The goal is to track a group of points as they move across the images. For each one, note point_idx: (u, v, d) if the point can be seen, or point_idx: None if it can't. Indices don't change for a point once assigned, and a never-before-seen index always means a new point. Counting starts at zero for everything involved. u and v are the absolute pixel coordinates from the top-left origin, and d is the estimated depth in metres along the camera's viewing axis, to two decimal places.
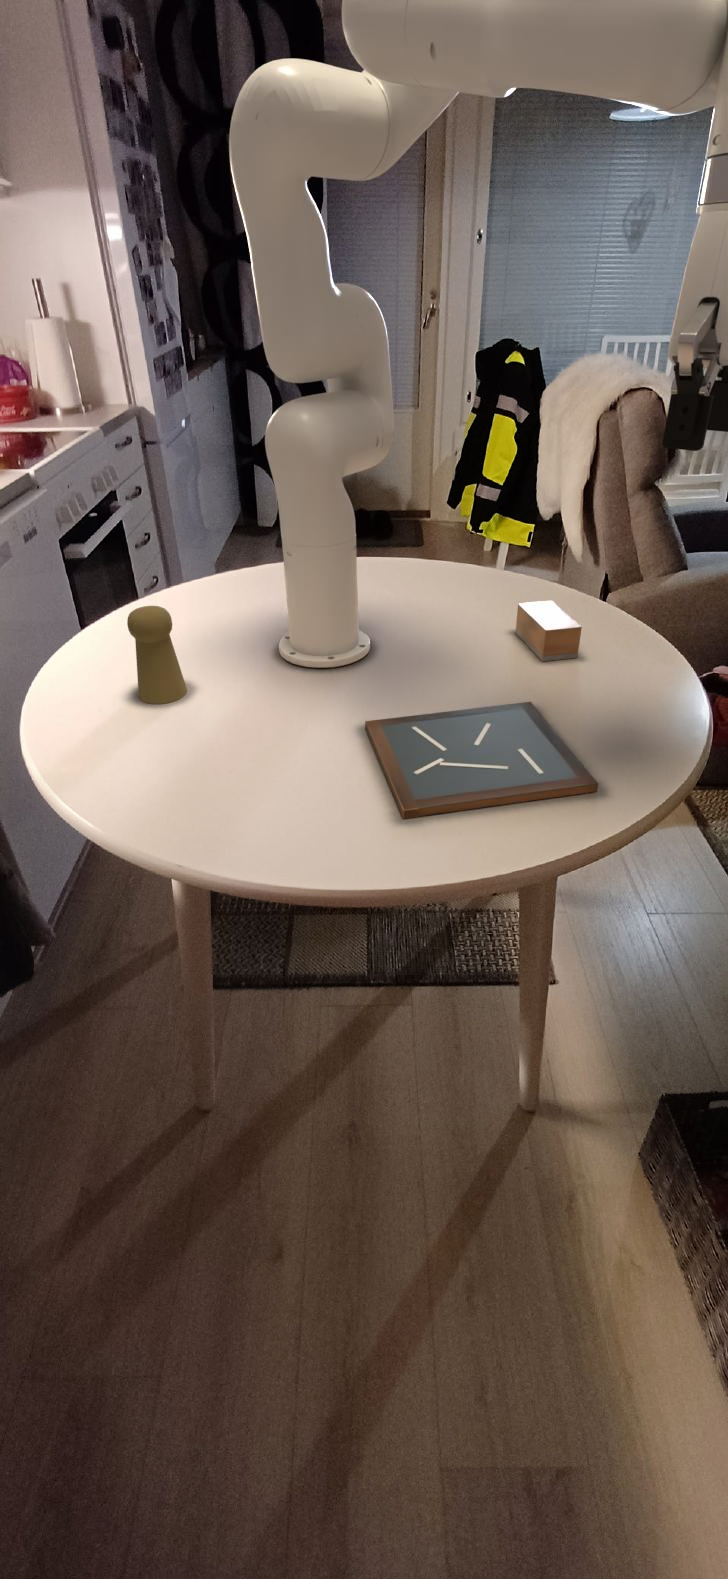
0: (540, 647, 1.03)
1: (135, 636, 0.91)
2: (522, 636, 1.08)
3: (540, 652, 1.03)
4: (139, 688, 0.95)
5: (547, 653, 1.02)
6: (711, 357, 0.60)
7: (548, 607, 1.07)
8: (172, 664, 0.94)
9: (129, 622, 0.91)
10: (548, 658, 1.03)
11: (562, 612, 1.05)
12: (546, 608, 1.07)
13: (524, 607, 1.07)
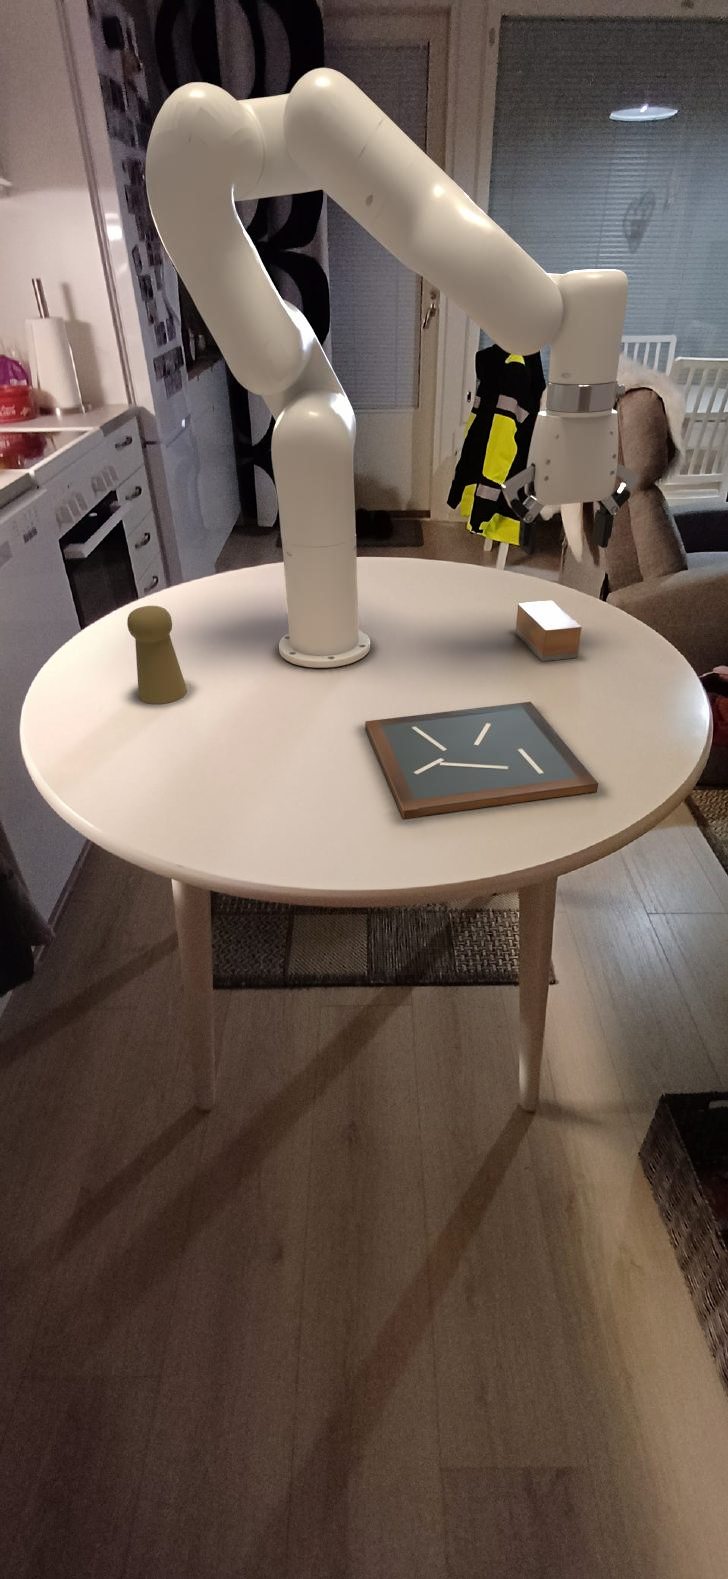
0: (540, 647, 1.03)
1: (135, 636, 0.91)
2: (522, 636, 1.08)
3: (540, 652, 1.03)
4: (139, 688, 0.95)
5: (547, 653, 1.02)
6: (536, 499, 0.93)
7: (548, 607, 1.07)
8: (172, 664, 0.94)
9: (129, 622, 0.91)
10: (548, 658, 1.03)
11: (562, 612, 1.05)
12: (546, 608, 1.07)
13: (524, 607, 1.07)
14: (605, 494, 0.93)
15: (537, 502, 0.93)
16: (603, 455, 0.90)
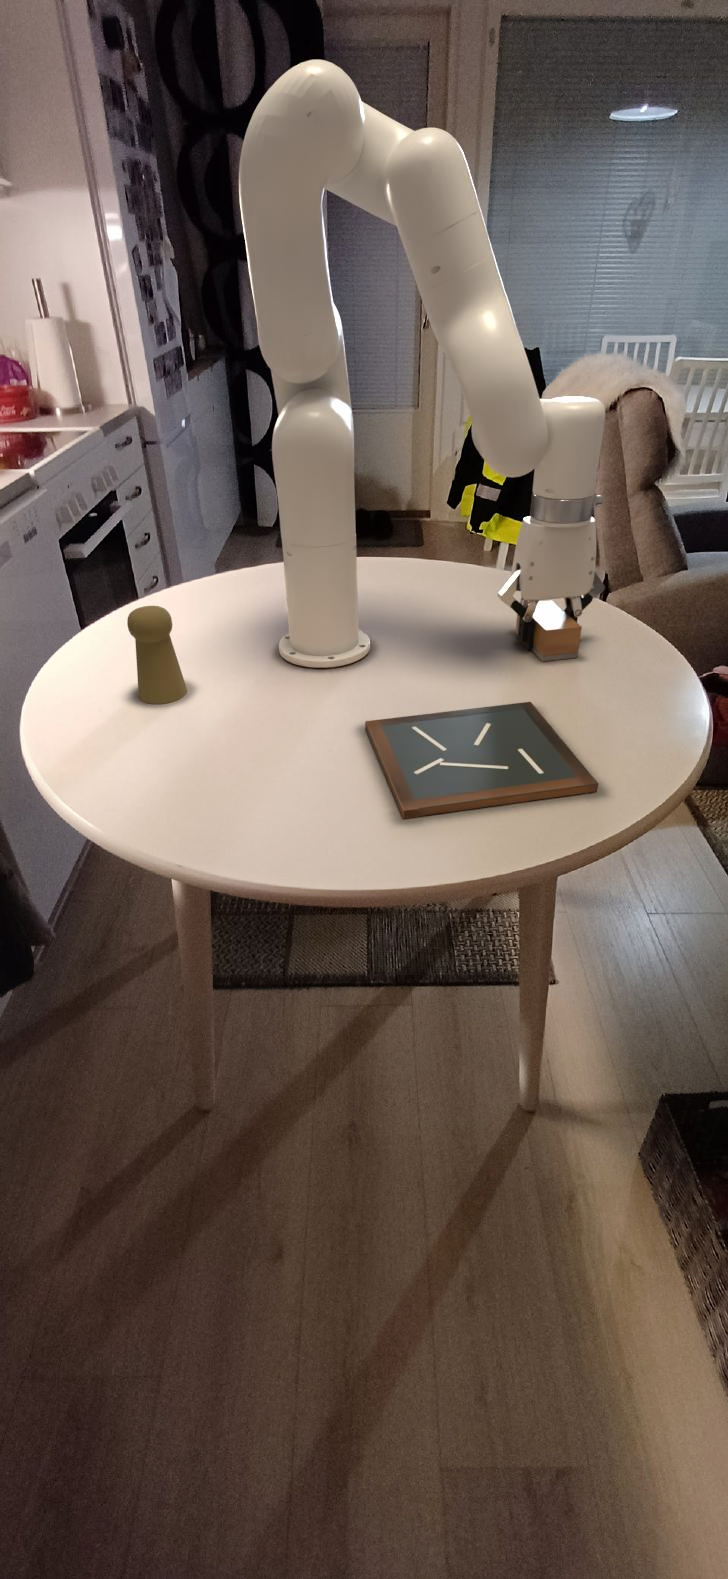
0: (540, 647, 1.03)
1: (135, 636, 0.91)
2: None
3: (540, 652, 1.03)
4: (139, 688, 0.95)
5: (547, 653, 1.02)
6: (528, 600, 1.02)
7: (548, 607, 1.07)
8: (172, 664, 0.94)
9: (129, 622, 0.91)
10: (548, 658, 1.03)
11: (562, 612, 1.05)
12: (546, 608, 1.07)
13: None
14: (584, 591, 1.02)
15: (530, 603, 1.02)
16: (582, 558, 0.99)
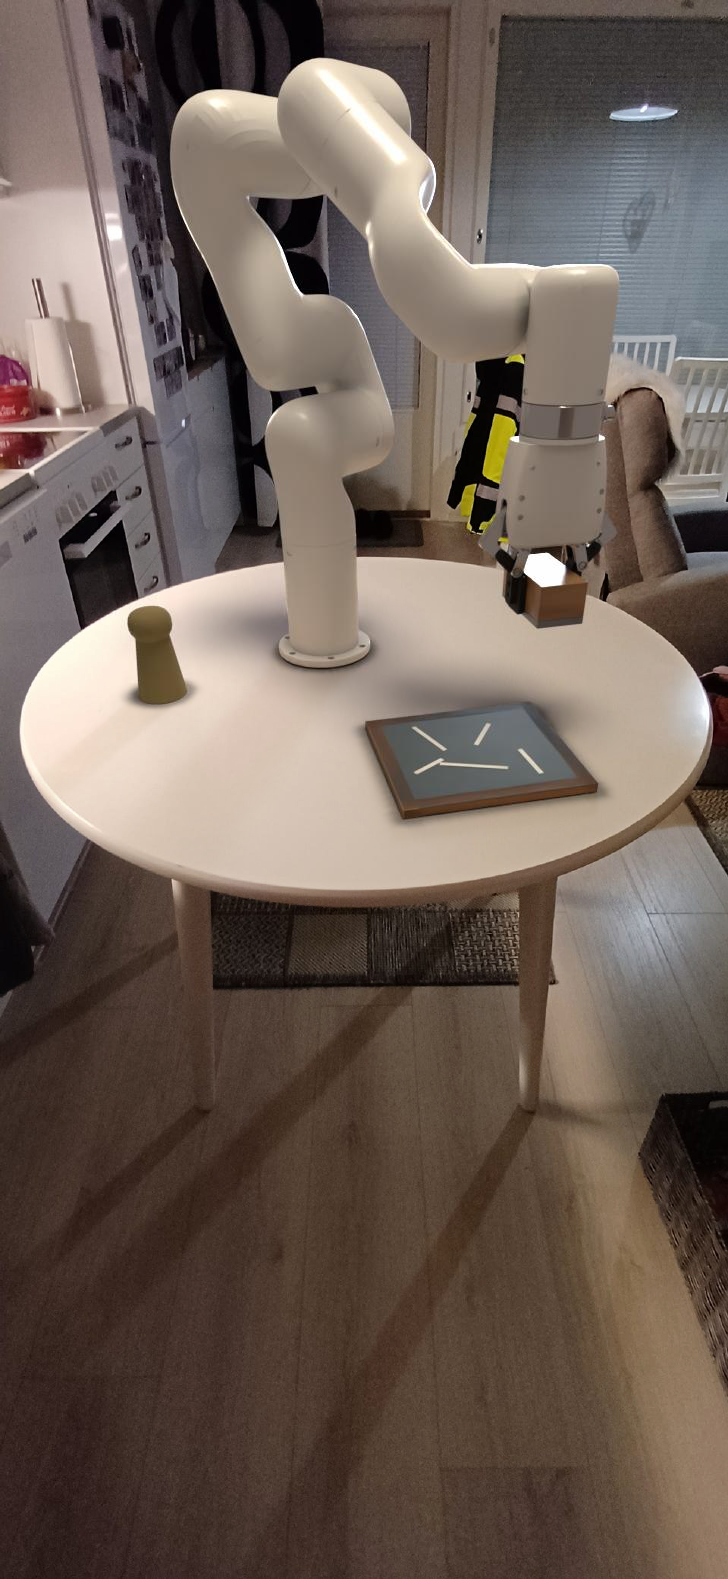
0: (534, 610, 0.79)
1: (135, 636, 0.91)
2: None
3: (534, 617, 0.79)
4: (139, 688, 0.95)
5: (543, 618, 0.78)
6: (517, 549, 0.78)
7: (543, 560, 0.83)
8: (172, 664, 0.94)
9: (129, 622, 0.91)
10: (544, 624, 0.79)
11: (562, 566, 0.81)
12: (541, 562, 0.83)
13: None
14: (591, 536, 0.78)
15: (520, 553, 0.78)
16: (588, 490, 0.75)
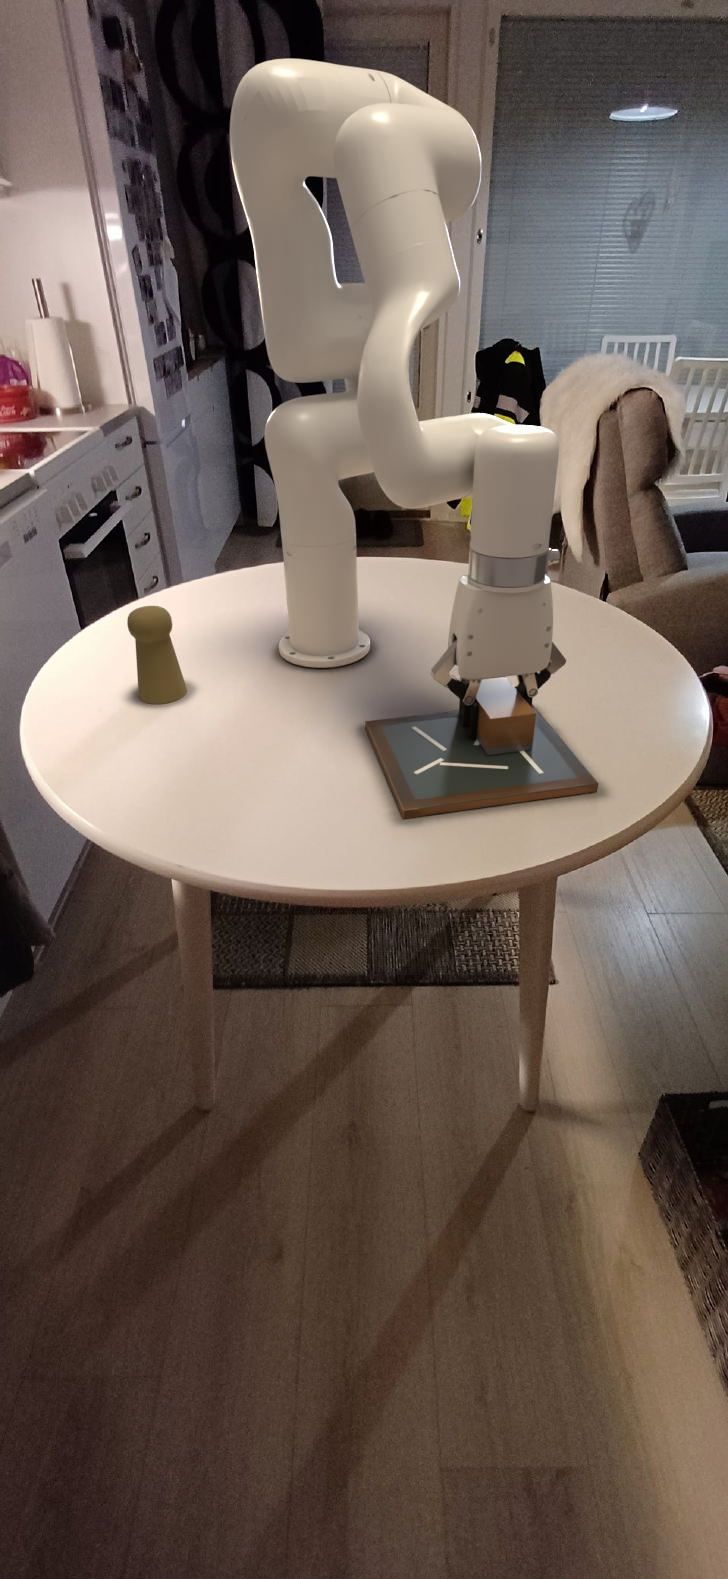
0: (485, 737, 0.81)
1: (135, 636, 0.91)
2: None
3: (485, 743, 0.82)
4: (139, 688, 0.95)
5: (493, 745, 0.81)
6: None
7: (496, 683, 0.86)
8: (172, 664, 0.94)
9: (129, 622, 0.91)
10: (495, 751, 0.81)
11: (514, 691, 0.84)
12: (495, 684, 0.85)
13: None
14: (539, 667, 0.80)
15: (471, 683, 0.80)
16: (535, 628, 0.77)
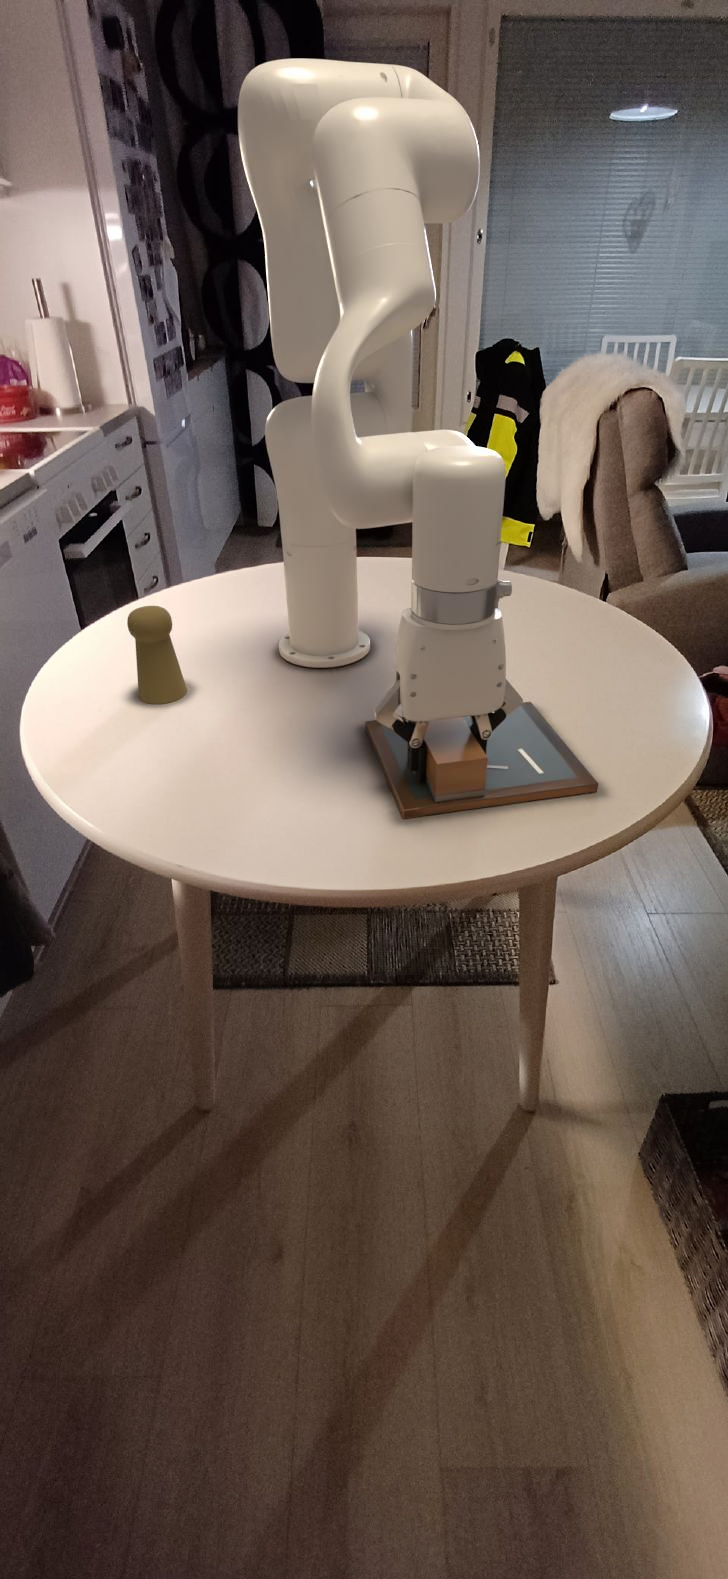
0: (432, 782, 0.75)
1: (135, 636, 0.91)
2: None
3: (433, 789, 0.75)
4: (139, 688, 0.95)
5: (441, 792, 0.74)
6: None
7: (449, 721, 0.79)
8: (172, 664, 0.94)
9: (129, 622, 0.91)
10: (443, 798, 0.75)
11: (466, 730, 0.77)
12: (447, 723, 0.79)
13: None
14: (492, 708, 0.73)
15: (417, 725, 0.74)
16: (485, 666, 0.71)
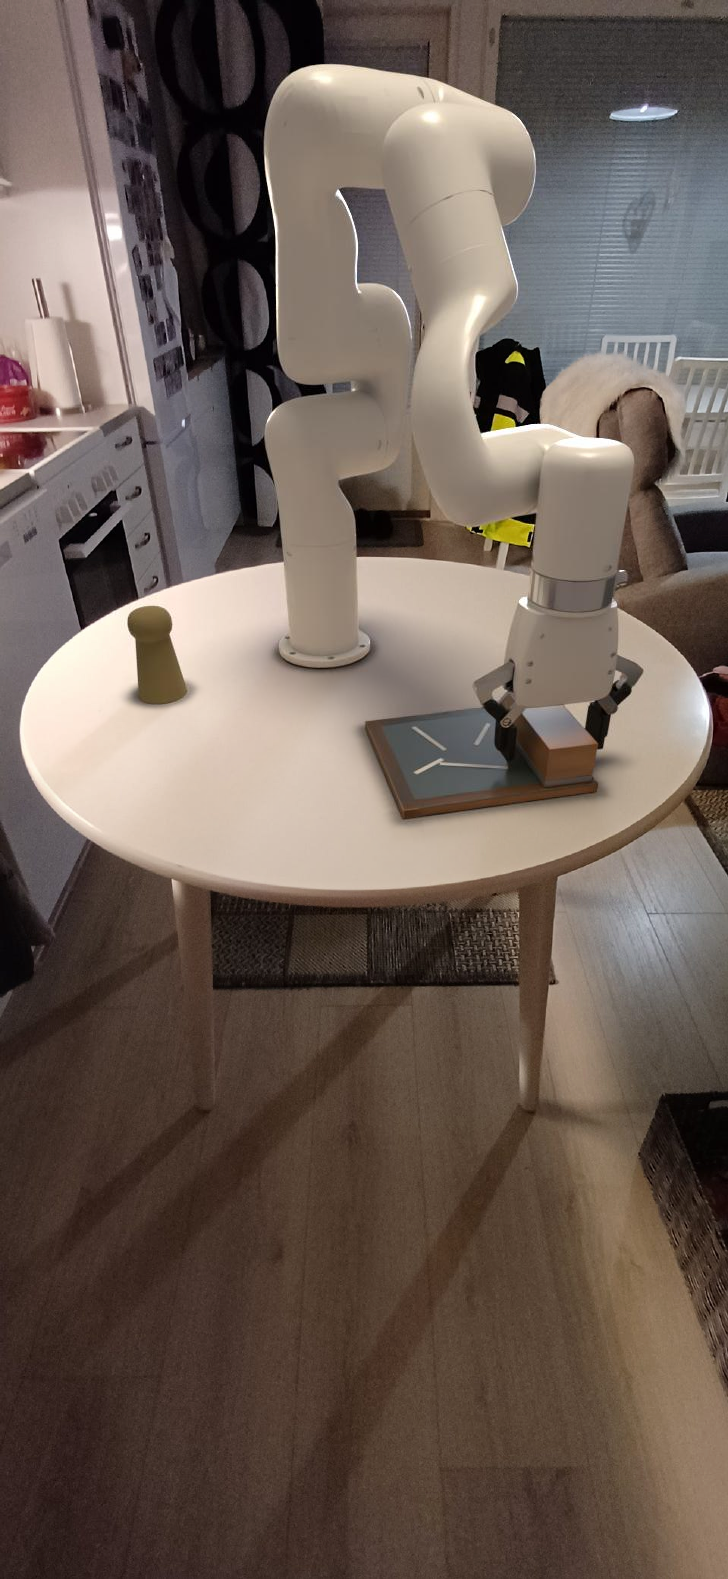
0: (542, 768, 0.76)
1: (135, 636, 0.91)
2: (518, 745, 0.82)
3: (541, 774, 0.76)
4: (139, 688, 0.95)
5: (551, 777, 0.76)
6: None
7: (552, 708, 0.81)
8: (172, 664, 0.94)
9: (129, 622, 0.91)
10: (552, 783, 0.76)
11: (571, 718, 0.79)
12: (550, 710, 0.80)
13: None
14: (601, 695, 0.75)
15: (517, 705, 0.75)
16: (599, 654, 0.72)
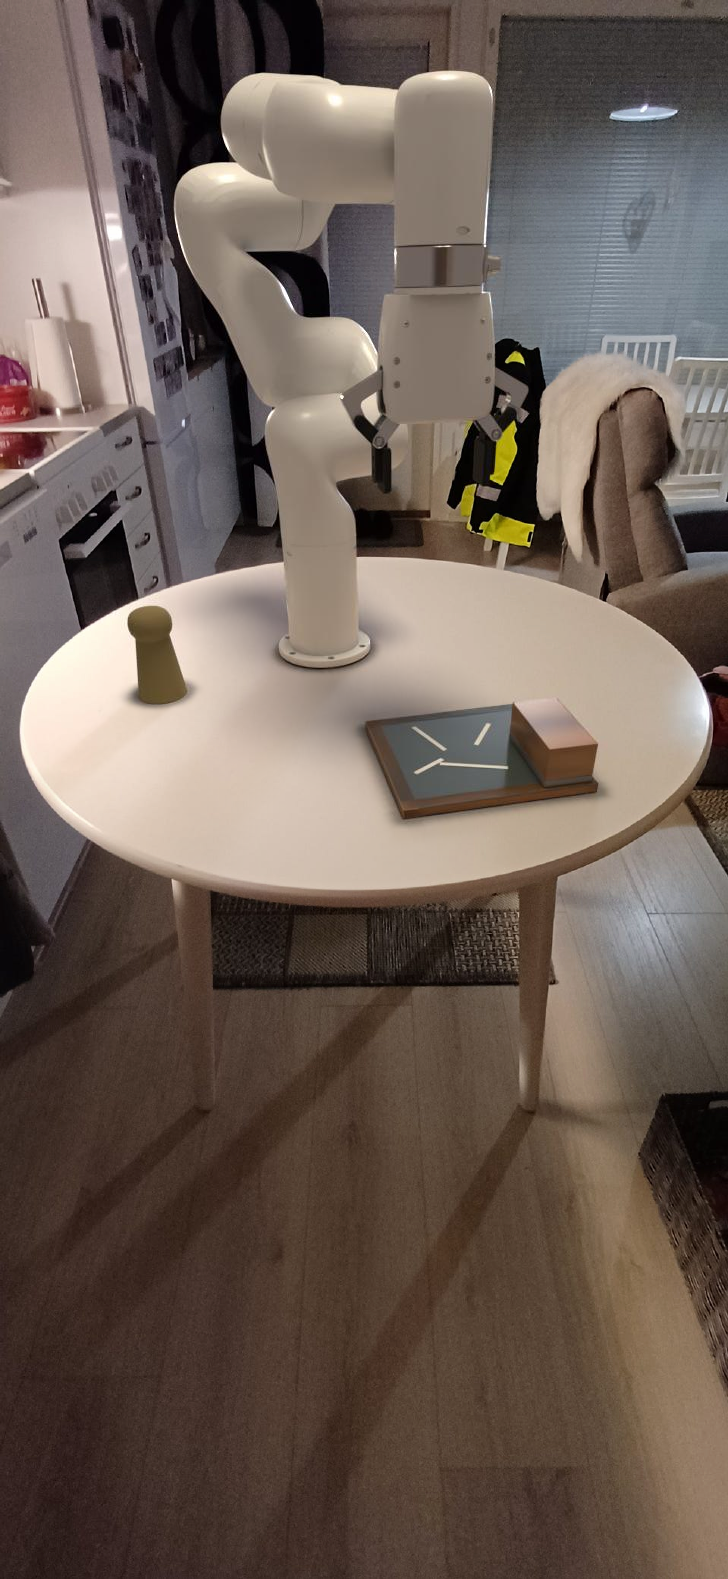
0: (542, 768, 0.76)
1: (135, 636, 0.91)
2: (518, 745, 0.82)
3: (541, 774, 0.76)
4: (139, 688, 0.95)
5: (551, 777, 0.76)
6: None
7: (552, 708, 0.81)
8: (172, 664, 0.94)
9: (129, 622, 0.91)
10: (552, 783, 0.76)
11: (571, 718, 0.79)
12: (550, 710, 0.80)
13: (521, 708, 0.81)
14: (480, 411, 0.70)
15: (388, 419, 0.69)
16: (473, 354, 0.67)
